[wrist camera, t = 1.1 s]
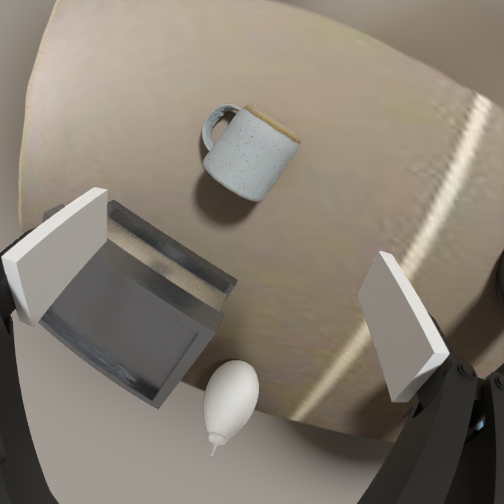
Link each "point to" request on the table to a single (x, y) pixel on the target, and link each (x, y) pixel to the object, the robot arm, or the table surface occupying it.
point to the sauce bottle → (229, 401)
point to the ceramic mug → (248, 151)
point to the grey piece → (139, 307)
